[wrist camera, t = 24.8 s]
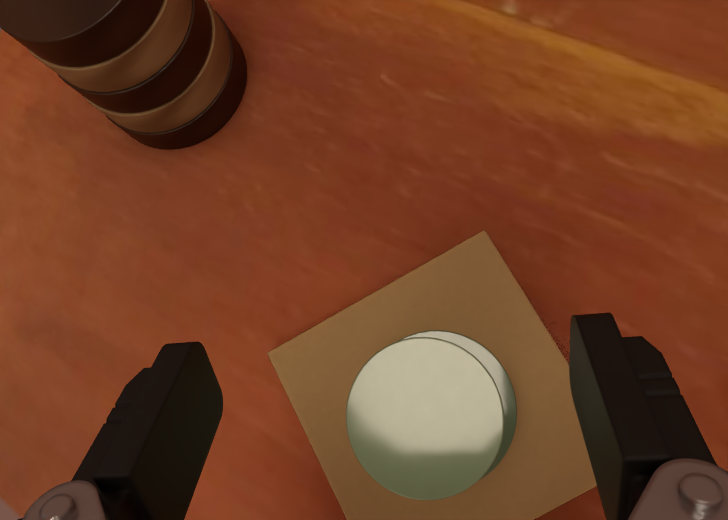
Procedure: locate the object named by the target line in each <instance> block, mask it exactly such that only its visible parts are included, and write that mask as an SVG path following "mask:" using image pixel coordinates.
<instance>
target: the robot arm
mask: <svg viewBox="0 0 728 520" xmlns="http://www.w3.org/2000/svg"><path fill="white" fill-rule="evenodd" d="M569 377H570V387H571V393H572V398H573V402H574V406H575V409H576V413H577V416H578V420H579V423H580V427H581V430H582V434H583V438H584V441H585V445H586V448H587V452H588V455H589V459H590V462H591V466H592V470H593V473H594V477H595V480H596V484H597V487H598V491H599V494H600V498H601V502H602V505H603V509H604V512H605V516H606V519H607V520H728V472H727V471H725V470H724V469H722V468H720V467H718V465H717V464H716V462H715V461H714V459H713V457H712V455H711V453H710V451H709V449H708V447H707V445H706V443H705V441H704V439H703V437H702V435H701V433H700V431H699V428H698V426H697V424H696V422H695V420H694V418H693V416H692V414H691V412H690V410H689V408H688V406H687V404H686V402H685V400H684V398H683V396H682V395H680V390H679V388H678V386H677V384H676V382H675V380H674V378H672V373H671V371H670V369H669V367H668V365H667V363H666V361H665V359H664V357H663V355H662V353H661V352H660V351H658V350H657V349H656V348H655V347H654V346H653V345H651V344H650V343H649V342H648V341H647V340H646V339H644V338H643V337H642V336H637V337H622V336H621V334H620V331H619V329H618V327H617V324H616V322H615V320H614V317H613V315H612V314H611V313H598V314H585V315H573V316H572V317H571V328H570V362H569ZM222 411H223V396H222V391H221V388H220V386H219V383H218V381H217V378H216V376H215V373H214V371H213V368H212V366H211V363H210V361H209V358H208V356H207V353H206V351H205V348H204V346H203V345H202V344H201V343H200V342H185V343H172V344H166V345H164V346H163V347H162V349H161V350H160V352H159V354H158V356H157V358H156V359H155V361H154V363H153V365H152V367H151V368H144V369H143V370H141V371H140V372H139V373H138V374H137V375H136V376H135V377H134V378H133V379H132V380H131V381H130V382H129V383H128V384H127V385H126V386H125V388H124V390H123V391H122V393H121V395H120V397H119V398H118V400H117V402H116V404H115V408H113V409H112V411H111V412H110V414H109V416H108V418H107V419H106V420H107V423H105V424H104V425H103V426H102V428H101V430H100V432H99V433H98V435H97V437H96V439H95V440H94V442H93V444H92V446H91V447H90V449H89V451H88V453H87V454H86V456H85V458H84V460H83V461H82V463H81V465H80V467H79V468H78V470H77V472H76V474H75V475H74V477H73V479H72V480H71V481H70V482H66V483H63V484H60V485H58V486H56V487H54V488H52V489H50V490H49V491H47V492H46V493H44V494H43V495H42V496H41V497H39V498H38V499H37V500H36V501H35V502H34V503H33V504H32V505H31V507H30V508H29V509H28V511H27V512H26V514H25V515H24V517H23V518H21V519H18V520H184V518H185V515H186V513H187V510H188V507H189V504H190V502H191V499H192V496H193V494H194V491H195V488H196V485H197V483H198V480H199V477H200V474H201V472H202V469H203V466H204V463H205V461H206V458H207V455H208V452H209V450H210V447H211V444H212V442H213V439H214V436H215V433H216V431H217V428H218V425H219V422H220V420H221V416H222Z"/></svg>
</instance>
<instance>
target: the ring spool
mask: <svg viewBox="0 0 728 520" xmlns="http://www.w3.org/2000/svg"><path fill="white" fill-rule="evenodd" d="M516 423H517V403H516V397H515V392H514V389H513V386H512V383H511V380H510V378H509V376H508V374H507V372H506V370H505V369H504V367H503V366H502V364H501V363H500V362H499V360H498V359H497V358H496V357H495V356H494V355H493V354H492V353H491V352H490V351H489V350H488V349H487V348H485V347H484V346H483V345H481V344H480V343H478V342H477V341H475V340H473V339H471V338H469V337H467V336H464V335H462V334H459V333H455V332H450V331H442V330H430V331H423V332H418V333H414V334H411V335H408V336H406V337H404V338H402V339H400V340H398V341H397V342H394V343H392V344H390V345H388V346H386V347H384V348H383V349H381V350H380V351H378V352H377V353H376V354H374V355H373V356H372V357H371V358H370V359H369V360H368V361H367V362H366V363H365V364H364V365H363V367H362V368H361V370H360V371H359V373H358V374H357V376H356V378H355V380H354V382H353V384H352V386H351V389H350V392H349V396H348V400H347V407H346V426H347V433H348V437H349V441H350V444H351V447H352V449H353V451H354V454H355V456H356V457H357V459H358V461H359V463H360V464H361V465H362V467H363V468H364V469H365V471H366V472H367V473H368V474H369V475H370V476H371V477H372V478H373V479H374V480H375V481H376V482H378V483H379V484H380V485H381V486H383V487H384V488H386V489H388V490H390V491H391V492H393V493H396V494H398V495H400V496H403V497H407V498H411V499H417V500H438V499H444V498H448V497H451V496H454V495H457V494H459V493H461V492H463V491H465V490H466V489H468V488H470V487H471V486H473V485H474V484H475V483H476V482H477V481H479V480H480V479H482V478H484V477H485V476H487V475H488V474H489V473H490V472H491V471H492V470H494V469H495V467H496V466H497V465H498V464H499V463H500V462H501V460H502V459H503V457H504V456H505V454H506V453H507V451H508V449H509V447H510V445H511V443H512V440H513V437H514V433H515V429H516Z"/></svg>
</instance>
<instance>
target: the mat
mask: <svg viewBox="0 0 728 520" xmlns="http://www.w3.org/2000/svg"><path fill="white" fill-rule="evenodd" d="M430 330H442V331H450V332H455V333H459V334H462V335H464V336H467V337H469V338H471V339H473V340H475V341H477V342H478V343H480V344H481V345H483V346H484V347H485V348H487V349H488V350H489V351H490V352H491V353H492V354H493V355H494V356H495V357H496V358H497V359H498V360H499V362H500V363H501V364H502V366H503V367H504V369H505V370H506V372H507V374H508V376H509V378H510V380H511V383H512V386H513V389H514V392H515V397H516V403H517V423H516V429H515V433H514V437H513V440H512V443H511V445H510V447H509V449H508V451H507V453H506V454H505V456H504V457H503V459H502V460H501V462H500V463H499V464H498V465H497V466H496V467H495V469H494V470H492V471H491V472H490V473H489V474H488V475H487V476H485V477H484V478H482V479H480V480H479V481H477V482H476V483H475V484H474V485H473V486H471V487H470V488H468V489H466V490H465V491H463V492H461V493H459V494H457V495H454V496H451V497H448V498H444V499H438V500H417V499H411V498H407V497H403V496H400V495H398V494H396V493H393V492H391V491H390V490H388V489H386V488H384V487H383V486H381V485H380V484H379V483H378V482H376V481H375V480H374V479H373V478H372V477H371V476H370V475H369V474H368V473H367V472H366V471H365V469H364V468H363V467H362V465H361V464H360V463H359V461H358V459H357V457H356V456H355V454H354V451H353V449H352V447H351V444H350V441H349V437H348V433H347V426H346V407H347V400H348V396H349V392H350V389H351V386H352V384H353V382H354V380H355V378H356V376H357V374H358V373H359V371H360V370H361V368H362V367H363V365H364V364H365V363H366V362H367V361H368V360H369V359H370V358H371V357H372V356H373V355H374V354H376V353H377V352H378V351H380V350H381V349H383V348H384V347H386V346H388V345H390V344H392V343H394V342H397V341H398V340H400V339H402V338H404V337H406V336H408V335H411V334H414V333H418V332H423V331H430ZM268 356H269V358H270V360H271V362H272V364H273V366H274V368H275V370H276V372H277V375H278V377H279V379H280V381H281V383H282V385H283V387H284V389H285V391H286V393H287V395H288V398H289V400H290V402H291V404H292V406H293V408H294V410H295V412H296V414H297V416H298V418H299V421H300V423H301V425H302V427H303V429H304V431H305V433H306V435H307V437H308V439H309V442H310V444H311V446H312V448H313V450H314V452H315V454H316V456H317V458H318V460H319V462H320V465H321V467H322V469H323V471H324V473H325V475H326V477H327V479H328V481H329V483H330V485H331V488H332V490H333V492H334V494H335V496H336V498H337V500H338V502H339V504H340V506H341V508H342V511H343V513H344V515H345V517H346V519H347V520H534V519H536V518H538V517H540V516H541V515H543V514H545V513H547V512H549V511H551V510H553V509H555V508H556V507H558V506H560V505H562V504H564V503H566V502H568V501H569V500H571V499H573V498H575V497H577V496H579V495H581V494H583V493H584V492H586V491H588V490H590V489H592V488H594V487H596V486H597V484H596V480H595V477H594V473H593V470H592V466H591V462H590V459H589V455H588V452H587V448H586V445H585V441H584V438H583V434H582V430H581V427H580V423H579V420H578V416H577V413H576V409H575V406H574V402H573V398H572V393H571V387H570V377H569V364H568V363H567V361H566V359H565V358H564V356H563V355H562V353H561V351H560V350H559V348H558V347H557V345H556V343H555V342H554V340H553V339H552V337H551V335H550V334H549V332H548V331H547V329H546V327H545V326H544V324H543V322H542V321H541V319H540V318H539V316H538V314H537V313H536V311H535V310H534V308H533V306H532V305H531V303H530V302H529V300H528V298H527V297H526V295H525V294H524V292H523V290H522V289H521V287H520V286H519V284H518V282H517V281H516V279H515V278H514V276H513V274H512V273H511V271H510V270H509V268H508V266H507V265H506V263H505V262H504V260H503V258H502V257H501V255H500V254H499V252H498V250H497V249H496V247H495V246H494V244H493V242H492V241H491V239H490V237H489V236H488V234H487V233H486V231H485V230H484V231H482V232H480V233H478V234H477V235H475V236H473V237H471V238H469V239H468V240H466V241H464V242H462V243H461V244H459V245H457V246H455V247H454V248H452V249H450V250H448V251H447V252H445V253H443V254H441V255H439V256H438V257H436V258H434V259H432V260H431V261H429V262H427V263H425V264H424V265H422V266H420V267H418V268H417V269H415V270H413V271H411V272H409V273H408V274H406V275H404V276H402V277H401V278H399V279H397V280H395V281H394V282H392V283H390V284H388V285H386V286H385V287H383V288H381V289H379V290H378V291H376V292H374V293H372V294H371V295H369V296H367V297H365V298H364V299H362V300H360V301H358V302H356V303H355V304H353V305H351V306H349V307H348V308H346V309H344V310H342V311H341V312H339V313H337V314H335V315H334V316H332V317H330V318H328V319H326V320H325V321H323V322H321V323H319V324H318V325H316V326H314V327H312V328H311V329H309V330H307V331H305V332H303V333H302V334H300V335H298V336H296V337H295V338H293V339H291V340H289V341H288V342H286V343H284V344H282V345H281V346H279V347H277V348H275V349H273V350H272V351H270V352H268Z"/></svg>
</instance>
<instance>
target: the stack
mask: <svg viewBox="0 0 728 520" xmlns="http://www.w3.org/2000/svg"><path fill="white" fill-rule="evenodd" d="M0 28H2V29H3V30H4V31H5V32H7V33H8V34H9V35H11V36H12V37H13V38H15V39H16V40H17V41H18V42H20V43H21V44H22V45H24V46H25V47H26V48H27V49H28V50H29V51H30V52H31V53H32V54H33V55H34V56H35V57H36V58H37V59H38V60H40V61H41V62H42V63H44V64H45V65H46V66H48V67H49V68H50V69H52V70H53V71H54V72H56V73H57V74H58V76H59V77H60V78H61V79H62V80H63V81H64V82H65V83H67V84H68V85H69V86H71V87H72V88H73V89H75V90H76V91H77V92H79V93H80V94H81V95H82V96H83V97H84V98H85V99H86V100H87V101H88V102H89V103H90V104H91V105H93V106H94V107H95V108H97V109H98V110H99V111H101V112H102V113H104V114H105V115H106V117H107V118H108V119H109V120H110V121H111V122H113V123H114V124H115V125H117V126H118V127H119V128H121V129H122V130H123V131H125V132H126V133H128V134H129V135H130V136H132V137H133V138H134V139H136V140H137V141H139V142H141V143H143V144H145V145H148V146H151V147H154V148H160V149H178V148H184V147H188V146H191V145H194V144H197V143H199V142H201V141H203V140H205V139H207V138H208V137H210V136H211V135H213V134H214V133H216V132H217V131H218V130H219V129H220V128H221V127H223V125H224V124H225V123H226V122H227V121H228V120H229V119H230V117H231V116H232V115H233V113H234V112H235V110H236V108H237V107H238V105H239V103H240V100H241V98H242V96H243V92H244V89H245V84H246V61H245V57H244V54H243V51H242V49H241V46H240V44H239V43H238V41H237V40H236V38H235V37H234V35H233V34H232V32H231V31H230V29H229V28H228V27H227V25H226V24H225V22H224V21H223V19H222V18H221V17H220V16H219V15H218V13H217V12H216V11H214V9H213V8H212V7H211V5H210V4H209V2H208V1H207V0H0Z"/></svg>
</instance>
